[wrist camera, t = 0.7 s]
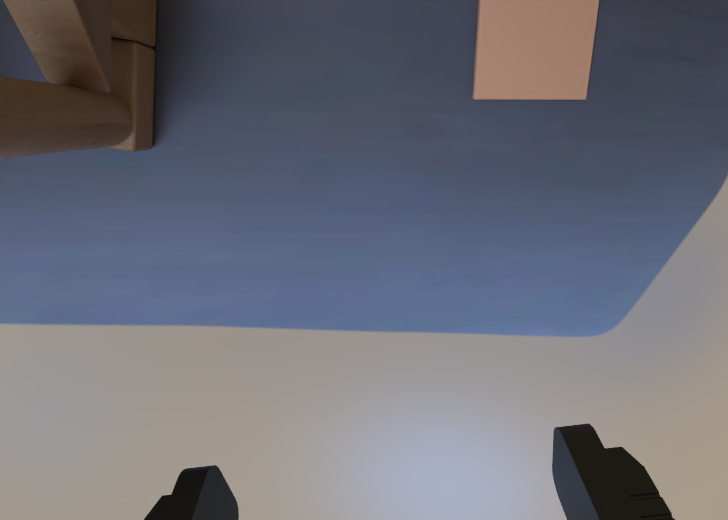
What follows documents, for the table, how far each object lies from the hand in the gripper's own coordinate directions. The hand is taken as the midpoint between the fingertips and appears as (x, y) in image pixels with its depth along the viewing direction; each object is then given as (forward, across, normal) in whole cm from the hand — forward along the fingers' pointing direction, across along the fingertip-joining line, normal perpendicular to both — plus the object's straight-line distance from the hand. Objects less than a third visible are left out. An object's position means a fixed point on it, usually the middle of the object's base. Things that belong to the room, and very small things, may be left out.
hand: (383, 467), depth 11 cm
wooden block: (+29, +17, -8) cm, 34 cm away
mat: (+32, -13, -5) cm, 35 cm away
